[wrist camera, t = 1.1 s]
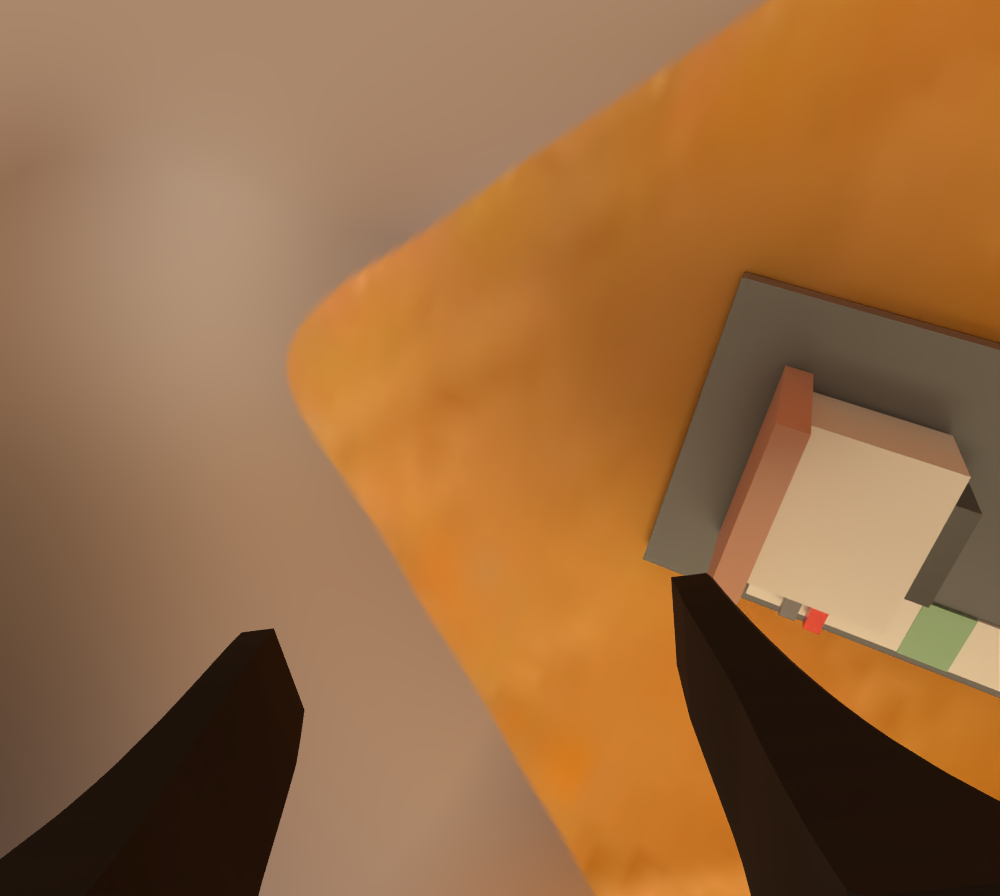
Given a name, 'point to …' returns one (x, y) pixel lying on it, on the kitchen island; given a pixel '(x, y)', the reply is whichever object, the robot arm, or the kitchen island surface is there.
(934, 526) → the cream and red block
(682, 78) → the kitchen island surface
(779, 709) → the robot arm
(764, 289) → the board
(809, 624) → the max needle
